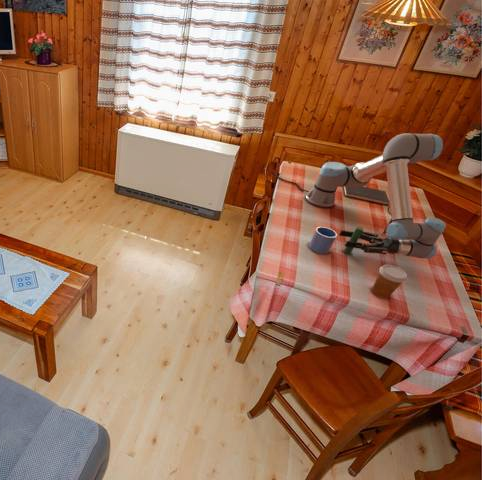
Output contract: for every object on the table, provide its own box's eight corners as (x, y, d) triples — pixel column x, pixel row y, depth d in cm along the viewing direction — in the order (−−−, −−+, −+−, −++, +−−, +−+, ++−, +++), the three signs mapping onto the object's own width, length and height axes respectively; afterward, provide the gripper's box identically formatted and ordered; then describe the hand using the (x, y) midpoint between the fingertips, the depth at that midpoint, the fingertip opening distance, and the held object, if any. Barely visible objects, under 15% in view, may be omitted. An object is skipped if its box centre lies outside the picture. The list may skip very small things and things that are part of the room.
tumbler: (305, 247, 182) (313, 231, 176) (313, 240, 187) (320, 224, 182) (324, 256, 177) (332, 239, 171) (331, 248, 182) (340, 232, 176)
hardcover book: (387, 205, 222) (389, 201, 220) (344, 196, 229) (346, 192, 227) (383, 193, 234) (385, 190, 232) (342, 185, 241) (344, 182, 240)
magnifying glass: (392, 236, 194) (412, 203, 182) (393, 238, 192) (413, 204, 181) (373, 231, 197) (392, 198, 185) (373, 233, 195) (392, 200, 184)
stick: (342, 252, 180) (355, 228, 172) (344, 249, 182) (357, 225, 174) (349, 255, 178) (362, 230, 170) (351, 252, 180) (364, 228, 172)
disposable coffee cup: (389, 288, 160) (404, 267, 153) (396, 303, 152) (411, 281, 145) (365, 283, 162) (378, 261, 155) (370, 297, 154) (384, 275, 148)
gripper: (400, 266, 167) (346, 257, 170) (382, 239, 184) (333, 232, 187) (409, 252, 163) (353, 244, 166) (390, 227, 179) (339, 219, 183)
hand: (343, 238), depth 176 cm, fingers open, 8 cm apart
